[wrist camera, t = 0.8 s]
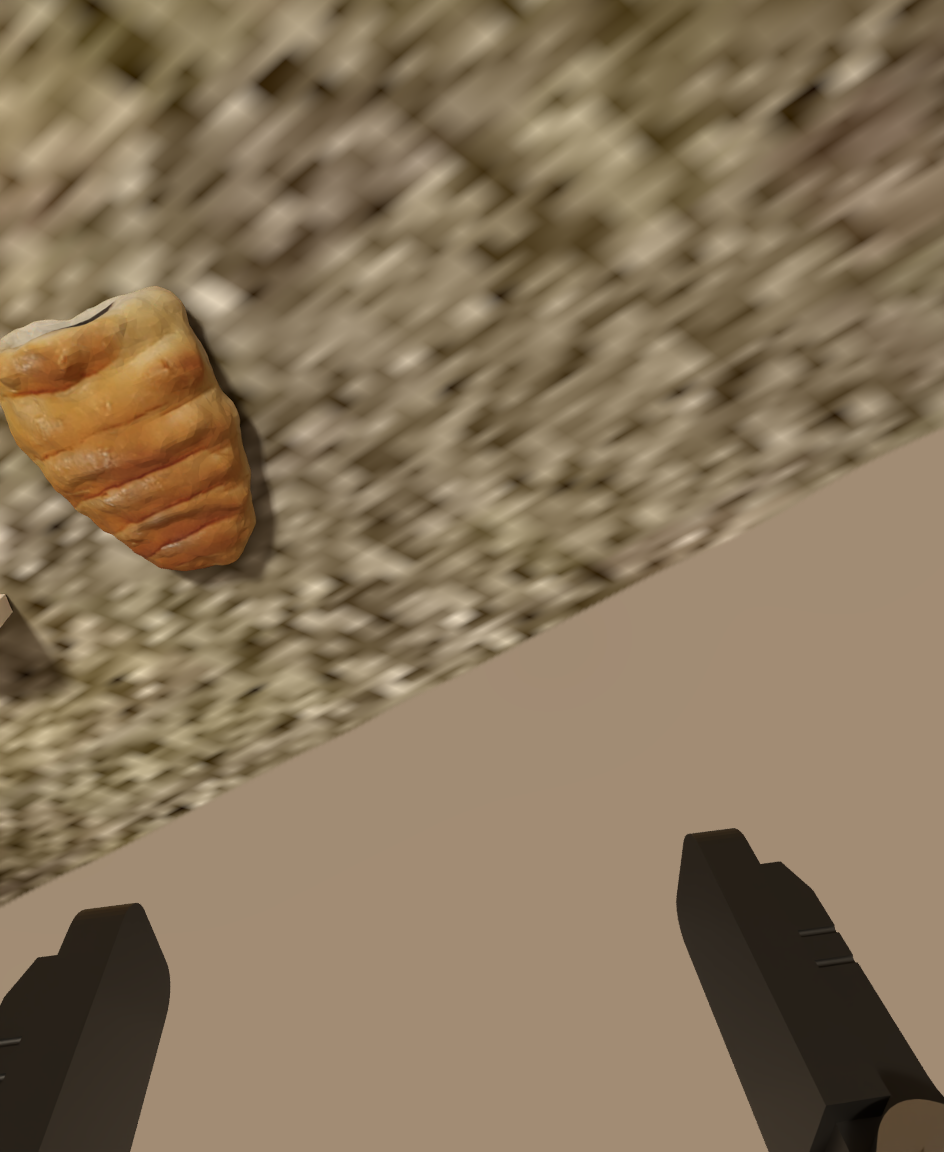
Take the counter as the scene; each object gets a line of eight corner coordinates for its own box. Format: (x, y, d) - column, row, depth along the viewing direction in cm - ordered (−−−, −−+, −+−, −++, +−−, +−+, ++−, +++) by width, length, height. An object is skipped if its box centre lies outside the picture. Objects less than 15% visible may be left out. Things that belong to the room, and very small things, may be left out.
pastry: (305, 515, 27) (298, 563, 24) (144, 578, 27) (114, 633, 24) (171, 264, 22) (138, 279, 19) (-22, 343, 22) (-87, 372, 19)
